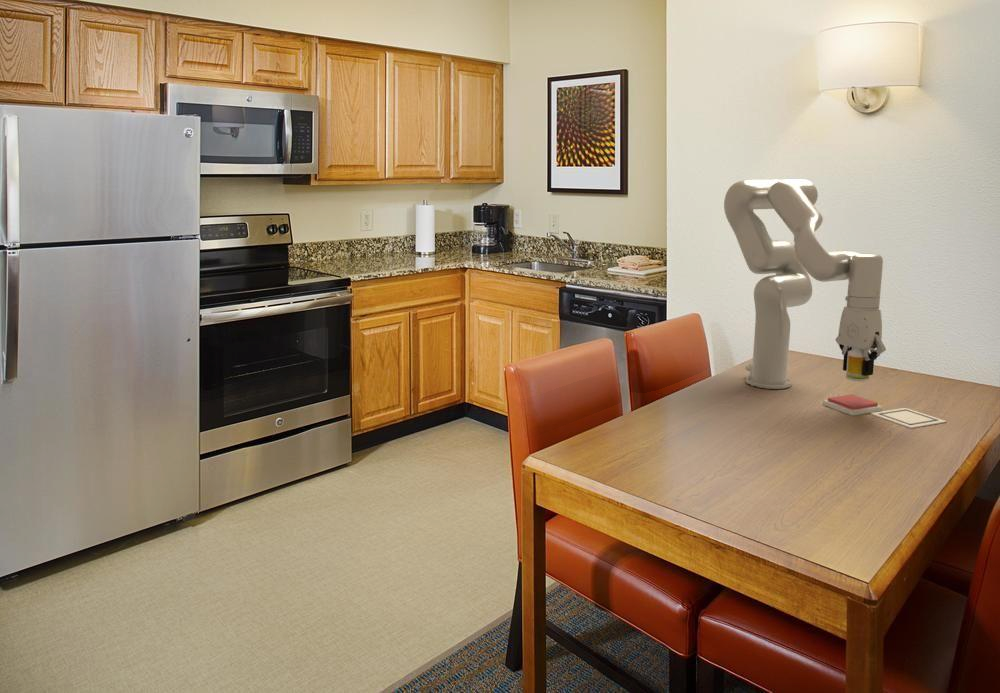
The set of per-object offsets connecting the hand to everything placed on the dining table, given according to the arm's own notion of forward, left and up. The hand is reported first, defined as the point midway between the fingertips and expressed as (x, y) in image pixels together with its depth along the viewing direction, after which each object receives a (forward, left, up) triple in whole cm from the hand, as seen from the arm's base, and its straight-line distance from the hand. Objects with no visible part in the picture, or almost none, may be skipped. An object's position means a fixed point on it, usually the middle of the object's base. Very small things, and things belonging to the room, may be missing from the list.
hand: (857, 371), depth 199 cm
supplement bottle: (0, 0, -2) cm, 2 cm away
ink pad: (-1, 0, -10) cm, 10 cm away
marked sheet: (+11, +6, -10) cm, 16 cm away
